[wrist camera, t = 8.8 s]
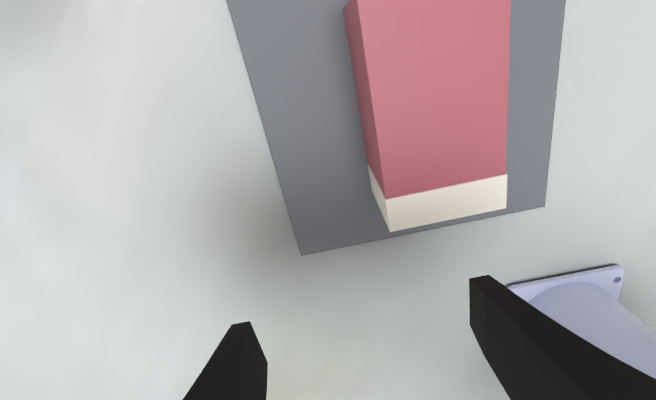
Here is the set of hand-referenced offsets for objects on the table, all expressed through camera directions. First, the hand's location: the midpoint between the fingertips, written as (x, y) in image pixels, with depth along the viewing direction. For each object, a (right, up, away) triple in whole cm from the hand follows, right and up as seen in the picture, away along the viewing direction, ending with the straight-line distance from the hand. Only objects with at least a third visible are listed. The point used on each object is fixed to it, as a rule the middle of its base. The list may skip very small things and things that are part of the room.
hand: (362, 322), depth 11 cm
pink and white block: (+3, +9, +6) cm, 11 cm away
